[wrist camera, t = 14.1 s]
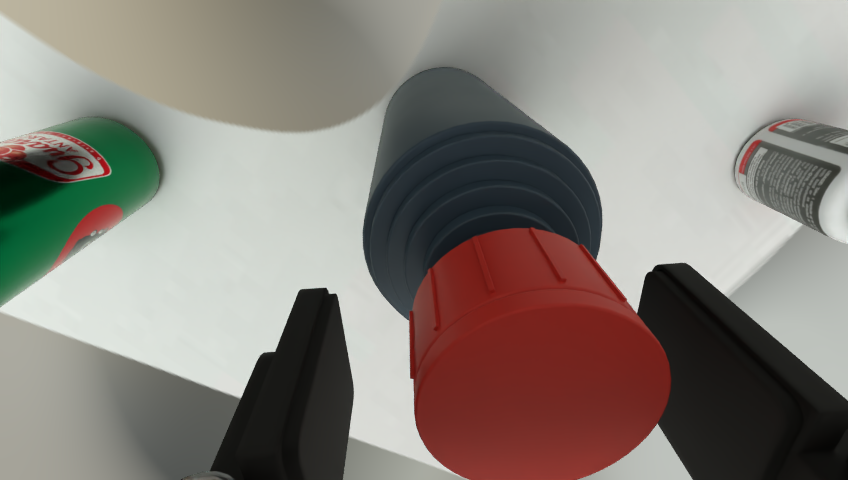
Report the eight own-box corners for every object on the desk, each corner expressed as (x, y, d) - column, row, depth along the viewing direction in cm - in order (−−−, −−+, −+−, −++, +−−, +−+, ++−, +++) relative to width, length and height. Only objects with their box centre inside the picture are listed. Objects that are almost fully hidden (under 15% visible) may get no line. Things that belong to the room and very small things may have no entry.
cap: (638, 321, 9) (712, 416, 7) (485, 410, 10) (507, 517, 8) (539, 184, 7) (594, 251, 5) (371, 305, 8) (359, 402, 6)
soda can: (164, 127, 22) (-57, 225, 12) (166, 214, 24) (-19, 364, 14) (58, 103, 21) (-284, 185, 11) (69, 195, 24) (-206, 338, 13)
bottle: (358, 132, 23) (255, 387, 7) (444, 38, 21) (571, 92, 5) (442, 208, 25) (509, 533, 9) (526, 129, 23) (795, 367, 7)
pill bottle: (757, 212, 26) (899, 289, 19) (715, 164, 24) (852, 227, 17) (832, 153, 24) (1019, 212, 17) (792, 98, 23) (979, 135, 15)
